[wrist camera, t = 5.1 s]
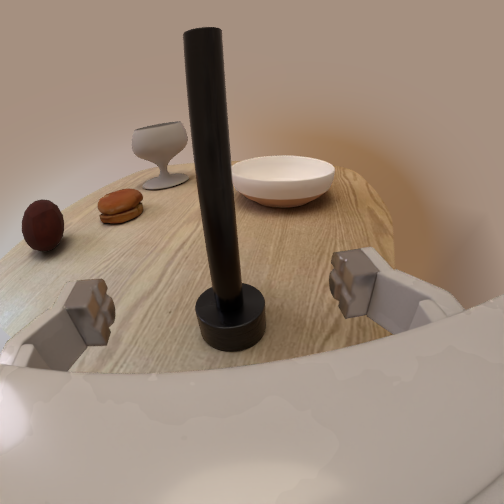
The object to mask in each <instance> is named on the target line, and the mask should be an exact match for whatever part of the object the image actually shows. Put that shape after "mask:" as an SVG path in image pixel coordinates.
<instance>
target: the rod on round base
mask: <svg viewBox="0 0 504 504" xmlns="http://www.w3.org/2000/svg"><path fill="white" fill-rule="evenodd" d="M183 40H184V57H185V70H186V84H187V96H188V107H189V117H190V127H191V137H192V146H193V155H194V163H195V171H196V179H197V187H198V195H199V202H200V209H201V216H202V223H203V230H204V237H205V243H206V250H207V256H208V262H209V268H210V275H211V280H212V286H213V287H211V288H209V289H207V290H206V291H205V292H203V293H202V294H201V295H200V297H199V298H198V300H197V302H196V306H195V310H196V315H197V319H198V323H199V326H200V330H201V334H202V337H203V339H204V340H205V341H206V342H207V343H208V344H209V345H210V346H212V347H213V348H216V349H218V350H222V351H240V350H244V349H247V348H249V347H251V346H253V345H254V344H256V343H257V342H258V341H259V340H260V339H261V338H262V336H263V334H264V332H265V328H266V321H265V300H264V297H263V295H262V294H261V292H260V291H259V290H258V289H256V288H255V287H253V286H251V285H248V284H244V283H242V280H241V269H240V259H239V248H238V237H237V226H236V214H235V203H234V191H233V179H232V167H231V155H230V143H229V129H228V116H227V102H226V88H225V75H224V60H223V44H222V30H221V29H219V28H215V27H202V28H196V29H191V30H188V31H186V32H184V34H183Z"/></svg>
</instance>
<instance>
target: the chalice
mask: <svg viewBox="0 0 504 504" xmlns="http://www.w3.org/2000/svg"><path fill="white" fill-rule="evenodd" d="M187 141H188V137H187V133H186V130H185V128H184V126H183V124H182V123H181V122H169V123H163V124H157V125H152V126H147V127H143V128H140V129H137V130H135V131H134V134H133V138H132V149H133V152H134V154H135V155H136V156H137V157H139V158H141V159H144V160H148V161H150V162H153V163H155V164H156V165H157V166H158V167H159V169H160V175H159V176H158V177H155V178H152V179H150V180H148V181H146V182H145V183H144V184H143V188H146V189H160V188H166V187H171V186H174V185H177V184H180V183H182V182H184V181H186V180H187V179H188V178H189V177H188V176H187V175H185V174H170V173H169V172H168V171H167V165H168V163H169V161H170V160H171V159H172V158H173V157H174V156H175V155H177V154H178V153H179V152H180V151H182V150H183V149H184V148H185V146H186V144H187Z"/></svg>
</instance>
